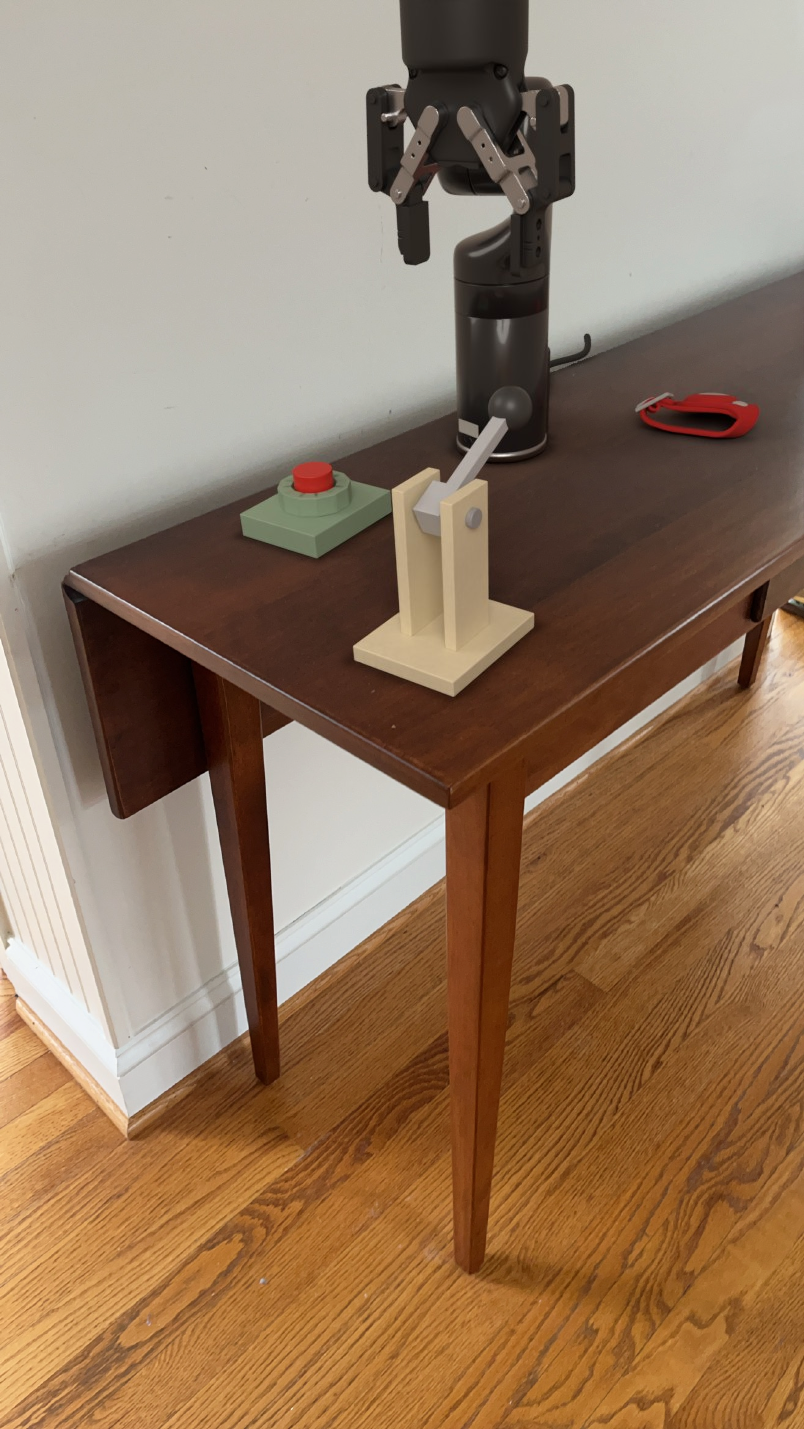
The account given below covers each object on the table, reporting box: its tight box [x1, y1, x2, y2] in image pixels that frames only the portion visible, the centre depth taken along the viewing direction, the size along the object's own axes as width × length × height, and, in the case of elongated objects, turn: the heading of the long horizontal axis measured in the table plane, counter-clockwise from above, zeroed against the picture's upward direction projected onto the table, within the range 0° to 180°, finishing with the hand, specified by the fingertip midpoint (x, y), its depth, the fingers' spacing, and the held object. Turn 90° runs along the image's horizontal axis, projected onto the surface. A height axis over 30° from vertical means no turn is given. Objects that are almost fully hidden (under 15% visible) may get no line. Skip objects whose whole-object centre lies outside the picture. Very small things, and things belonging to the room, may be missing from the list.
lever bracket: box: [352, 467, 535, 698], centre depth 74 cm, size 11×9×13 cm
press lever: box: [413, 386, 532, 537], centre depth 72 cm, size 13×3×3 cm, turn 143°
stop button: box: [292, 461, 334, 493], centre depth 93 cm, size 4×4×2 cm
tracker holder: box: [634, 391, 760, 439], centre depth 108 cm, size 12×4×10 cm
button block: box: [239, 470, 393, 559], centre depth 94 cm, size 11×9×4 cm
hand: (468, 268), depth 68 cm, fingers open, 8 cm apart
